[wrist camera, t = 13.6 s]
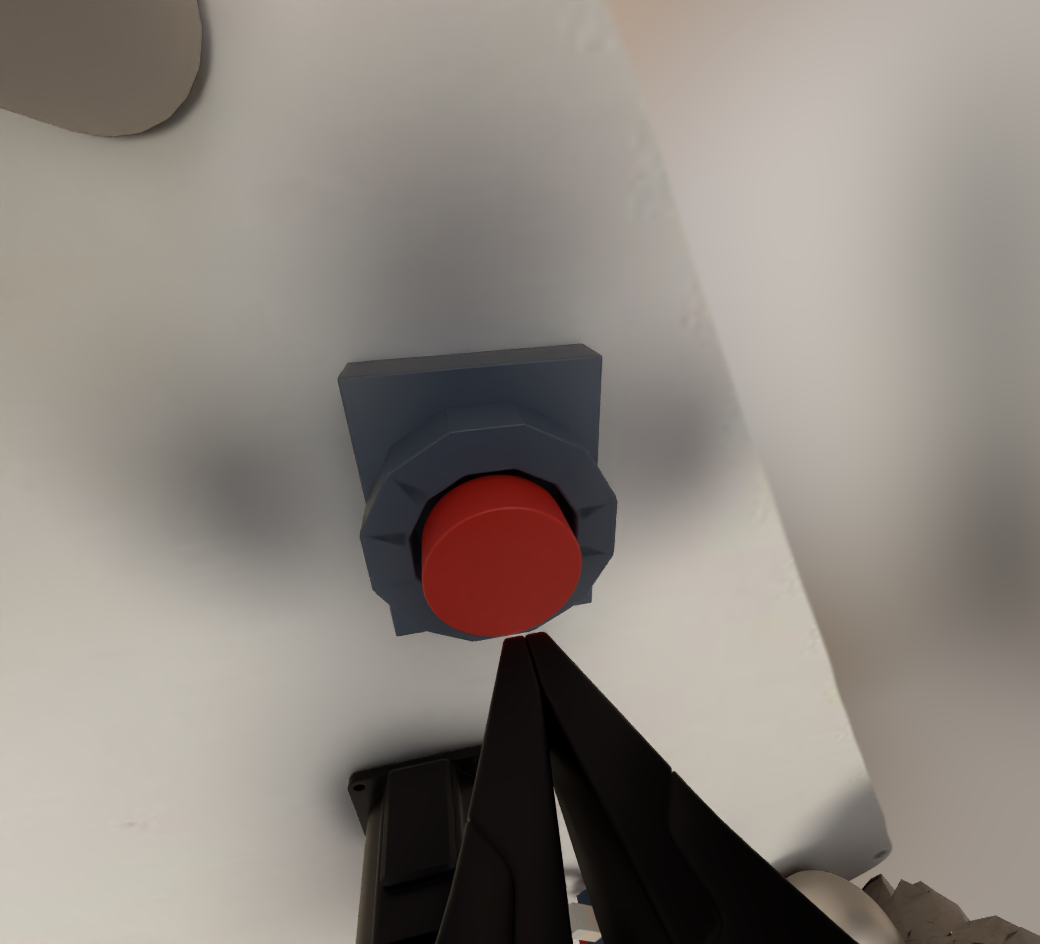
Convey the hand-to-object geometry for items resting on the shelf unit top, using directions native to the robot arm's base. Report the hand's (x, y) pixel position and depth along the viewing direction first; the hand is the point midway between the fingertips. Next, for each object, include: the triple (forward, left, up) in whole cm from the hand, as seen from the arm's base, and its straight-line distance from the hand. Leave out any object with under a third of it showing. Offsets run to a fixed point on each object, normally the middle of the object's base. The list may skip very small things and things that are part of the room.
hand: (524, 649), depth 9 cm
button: (0, 0, -4) cm, 4 cm away
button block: (0, 0, -7) cm, 7 cm away
